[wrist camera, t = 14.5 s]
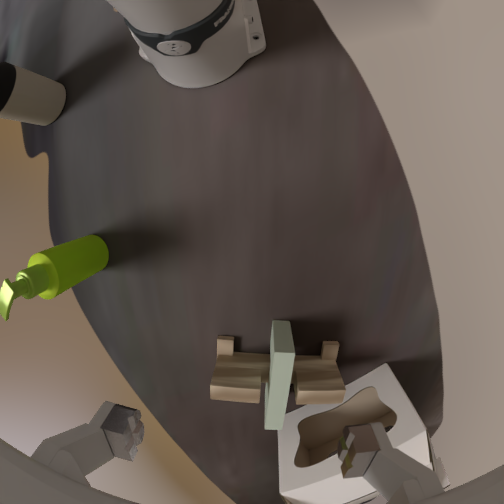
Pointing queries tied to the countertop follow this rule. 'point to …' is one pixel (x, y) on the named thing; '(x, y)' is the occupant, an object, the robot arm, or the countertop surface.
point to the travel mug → (29, 96)
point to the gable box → (331, 430)
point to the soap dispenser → (55, 271)
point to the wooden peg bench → (257, 370)
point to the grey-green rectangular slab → (279, 374)
